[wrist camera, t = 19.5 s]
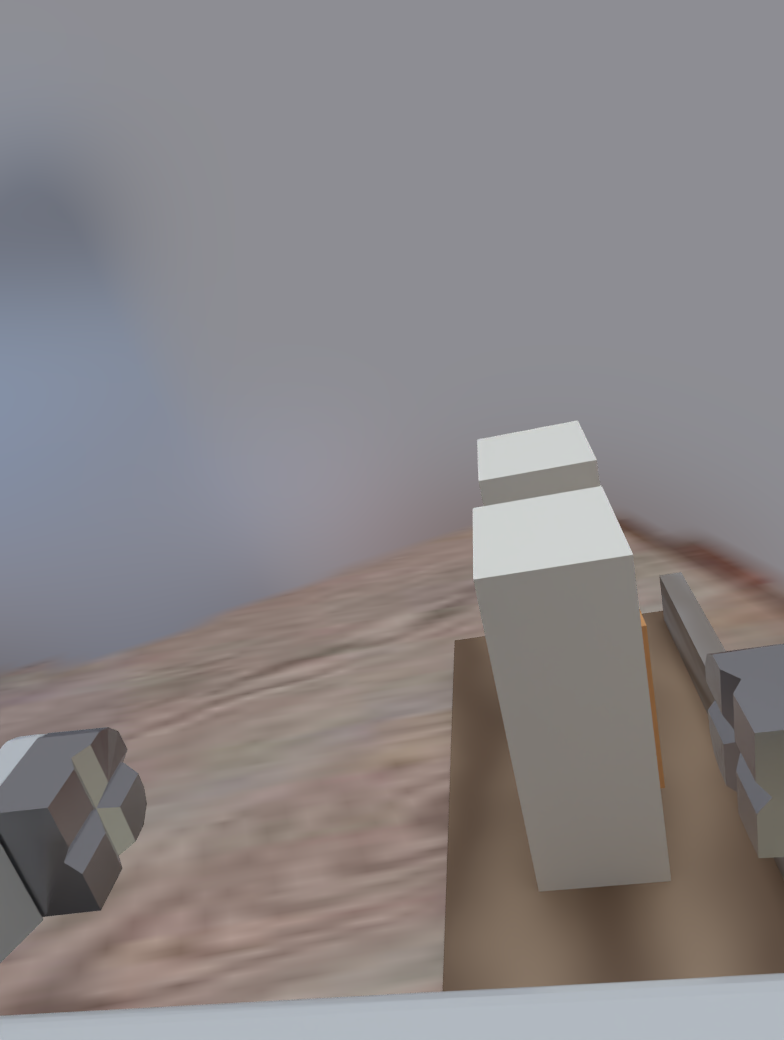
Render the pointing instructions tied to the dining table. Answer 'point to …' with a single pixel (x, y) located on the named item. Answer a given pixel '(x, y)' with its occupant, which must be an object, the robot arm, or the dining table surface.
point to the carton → (535, 463)
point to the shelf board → (621, 908)
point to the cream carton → (573, 687)
